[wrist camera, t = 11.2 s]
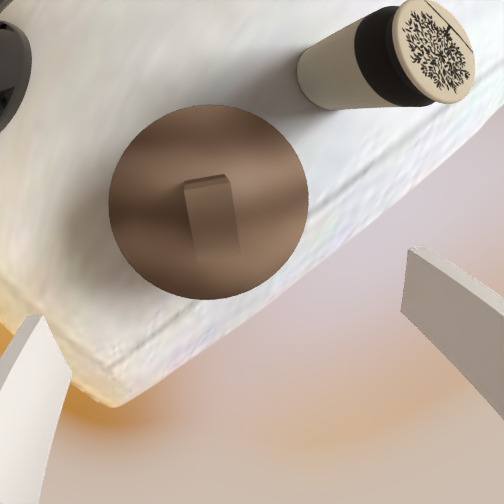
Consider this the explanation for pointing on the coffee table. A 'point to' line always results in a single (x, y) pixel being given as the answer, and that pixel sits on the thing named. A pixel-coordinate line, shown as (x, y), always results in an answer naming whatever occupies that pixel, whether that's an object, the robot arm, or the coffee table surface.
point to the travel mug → (391, 60)
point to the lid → (208, 202)
